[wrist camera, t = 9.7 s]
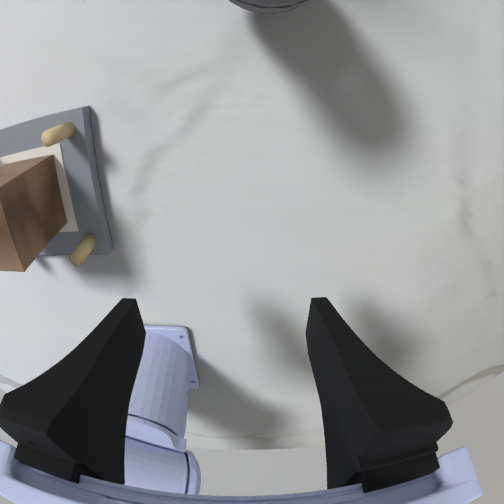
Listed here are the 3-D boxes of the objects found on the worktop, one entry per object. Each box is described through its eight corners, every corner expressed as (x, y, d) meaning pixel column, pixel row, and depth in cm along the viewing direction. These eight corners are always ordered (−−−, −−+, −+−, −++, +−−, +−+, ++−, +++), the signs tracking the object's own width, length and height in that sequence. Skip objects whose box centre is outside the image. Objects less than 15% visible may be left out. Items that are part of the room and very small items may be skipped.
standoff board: (113, 246, 21) (96, 274, 18) (15, 249, 21) (-5, 272, 18) (89, 105, 16) (61, 114, 13) (-14, 135, 15) (-43, 148, 12)
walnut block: (67, 222, 19) (24, 271, 14) (19, 225, 19) (-25, 269, 14) (53, 154, 16) (-3, 189, 11) (4, 164, 16) (-50, 198, 11)
